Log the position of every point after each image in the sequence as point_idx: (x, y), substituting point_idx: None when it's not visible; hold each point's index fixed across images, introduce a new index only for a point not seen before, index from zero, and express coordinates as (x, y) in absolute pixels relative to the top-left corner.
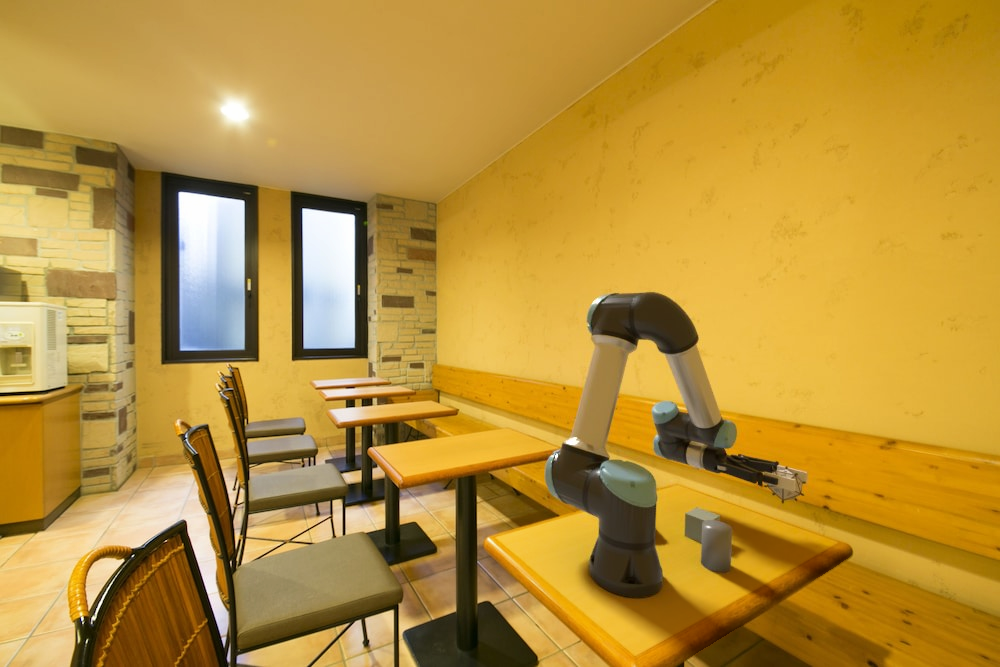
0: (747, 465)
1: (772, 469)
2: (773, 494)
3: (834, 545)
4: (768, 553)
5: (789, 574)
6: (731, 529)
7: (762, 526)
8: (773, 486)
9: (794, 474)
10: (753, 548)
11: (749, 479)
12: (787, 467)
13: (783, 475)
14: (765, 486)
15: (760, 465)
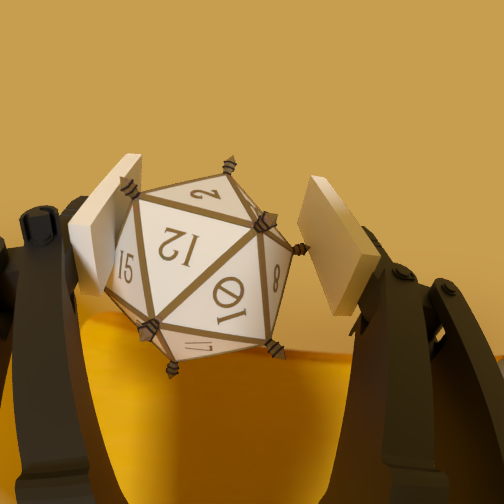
0: (118, 499)
1: (272, 226)
2: (177, 369)
3: (105, 321)
4: (304, 416)
5: (347, 357)
6: (498, 363)
7: (121, 482)
8: (279, 303)
9: (224, 173)
10: (316, 448)
11: (442, 343)
12: (128, 182)
13: (255, 211)
14: (282, 348)
15: (75, 357)
